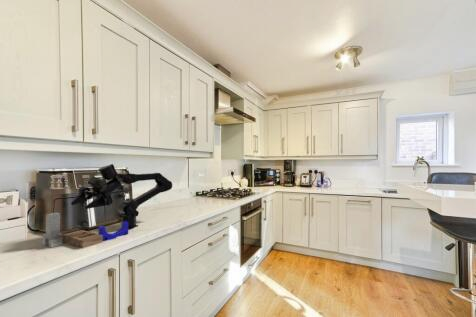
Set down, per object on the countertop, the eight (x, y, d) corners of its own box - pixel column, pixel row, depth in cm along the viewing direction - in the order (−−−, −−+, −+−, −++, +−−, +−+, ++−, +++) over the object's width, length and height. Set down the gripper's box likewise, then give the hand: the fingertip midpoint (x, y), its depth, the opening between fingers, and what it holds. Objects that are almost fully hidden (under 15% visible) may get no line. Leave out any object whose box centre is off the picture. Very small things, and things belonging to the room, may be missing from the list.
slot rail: (62, 241, 97) (62, 234, 97) (82, 236, 104) (82, 229, 104) (82, 248, 90) (83, 240, 90) (102, 242, 97) (102, 235, 97)
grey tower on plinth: (42, 244, 93) (43, 213, 93) (54, 241, 97) (54, 212, 97) (51, 247, 90) (51, 215, 90) (62, 244, 93) (63, 213, 94)
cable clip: (102, 242, 97) (102, 228, 97) (98, 239, 100) (98, 226, 100) (129, 235, 107) (129, 222, 107) (125, 233, 109) (125, 221, 110)
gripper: (90, 171, 110) (57, 187, 97) (117, 176, 104) (86, 194, 91) (97, 190, 115) (67, 207, 102) (124, 196, 108) (95, 215, 95)
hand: (78, 206), depth 97 cm, fingers open, 9 cm apart
